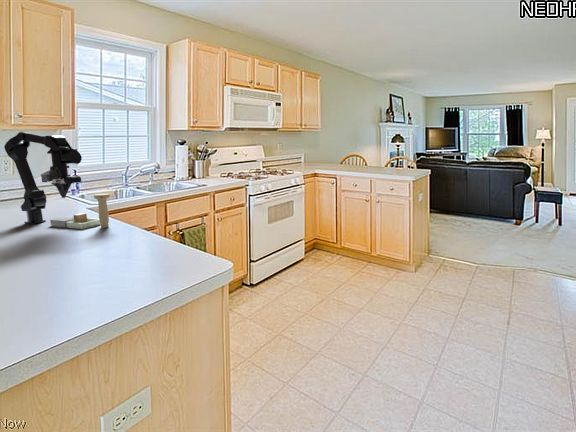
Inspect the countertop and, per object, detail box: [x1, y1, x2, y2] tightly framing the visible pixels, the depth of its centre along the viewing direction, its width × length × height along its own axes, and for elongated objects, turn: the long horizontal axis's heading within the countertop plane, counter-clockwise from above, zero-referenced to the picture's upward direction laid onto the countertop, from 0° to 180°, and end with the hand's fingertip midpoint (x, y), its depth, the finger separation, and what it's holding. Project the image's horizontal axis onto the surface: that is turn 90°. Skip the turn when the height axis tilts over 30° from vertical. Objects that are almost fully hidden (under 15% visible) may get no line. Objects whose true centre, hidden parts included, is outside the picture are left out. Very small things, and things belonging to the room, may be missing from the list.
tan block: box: [72, 212, 88, 223], centre depth 181 cm, size 5×5×2 cm
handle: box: [93, 193, 111, 229], centre depth 177 cm, size 5×6×15 cm
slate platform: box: [50, 216, 74, 228], centre depth 183 cm, size 9×7×3 cm
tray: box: [66, 217, 101, 230], centre depth 181 cm, size 10×10×2 cm
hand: (63, 197), depth 182 cm, fingers closed
